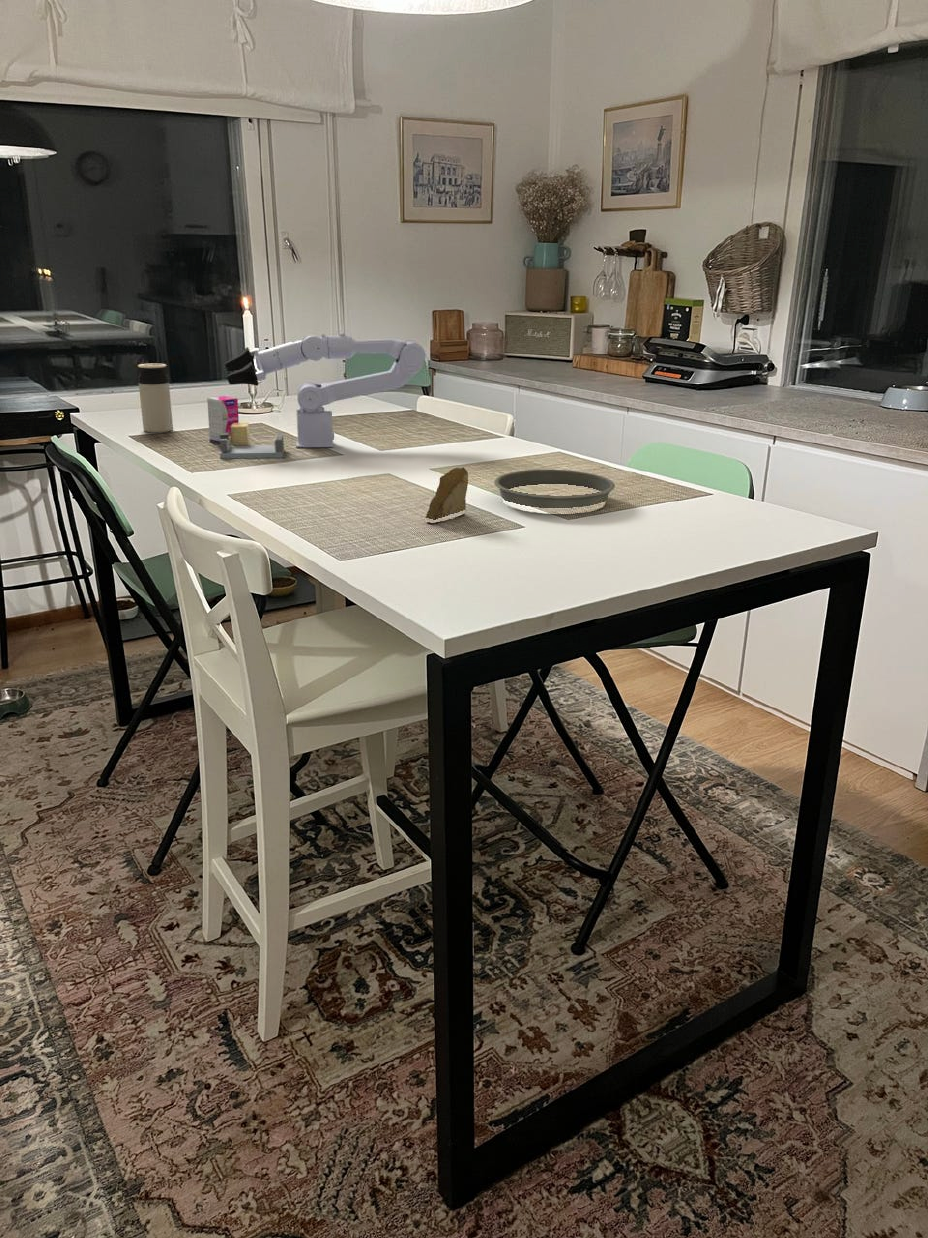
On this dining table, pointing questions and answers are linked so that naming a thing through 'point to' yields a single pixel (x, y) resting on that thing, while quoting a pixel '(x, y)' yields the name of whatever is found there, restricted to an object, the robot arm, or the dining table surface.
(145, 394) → the travel mug
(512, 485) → the cake pan
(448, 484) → the rock
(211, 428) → the supplement box
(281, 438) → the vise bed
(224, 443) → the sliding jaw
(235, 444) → the brass block
